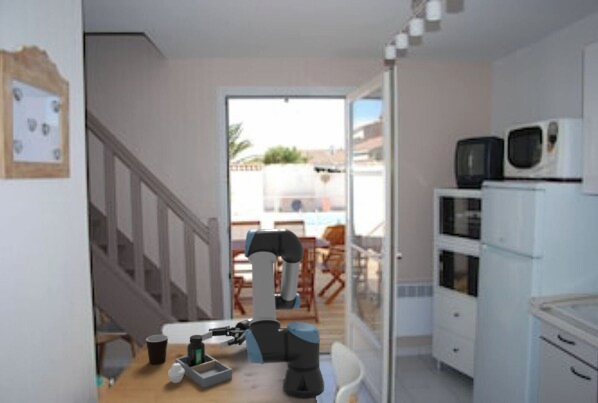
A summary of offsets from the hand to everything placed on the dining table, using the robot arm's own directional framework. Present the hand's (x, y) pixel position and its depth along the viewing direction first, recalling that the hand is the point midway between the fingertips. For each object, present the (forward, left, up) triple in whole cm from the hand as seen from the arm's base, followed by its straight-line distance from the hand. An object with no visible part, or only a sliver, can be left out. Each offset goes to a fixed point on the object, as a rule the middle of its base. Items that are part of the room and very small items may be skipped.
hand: (210, 341), depth 177 cm
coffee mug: (+16, +15, -9) cm, 24 cm away
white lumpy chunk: (-7, +18, -9) cm, 22 cm away
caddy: (-7, +7, -9) cm, 13 cm away
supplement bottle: (-1, +7, -8) cm, 11 cm away
